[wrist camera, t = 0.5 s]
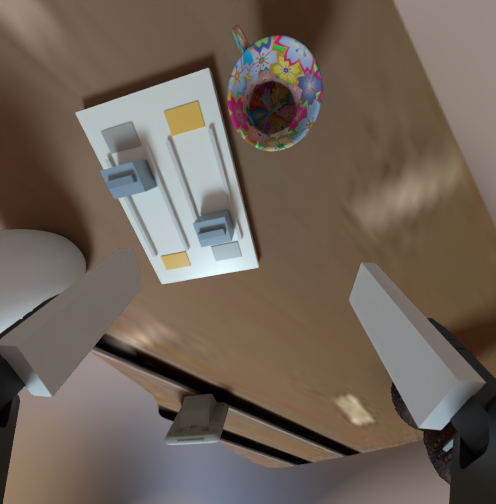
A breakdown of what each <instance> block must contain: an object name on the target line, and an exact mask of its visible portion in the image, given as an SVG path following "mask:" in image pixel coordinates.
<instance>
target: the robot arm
mask: <svg viewBox="0 0 496 504" xmlns="http://www.w3.org/2000/svg"><path fill="white" fill-rule="evenodd" d="M142 287H143V286H142V282H141V278H140V274H139V270H138V266H137V262H136V258H135V254H134V250H133V249H129V248H120V249H118V250H117V251H116V252H114V253H113V254H112V255H111V256H109V257H108V258H107V259H105V260H104V261H103V262H101V263H100V264H99V265H97V266H96V267H95V268H93V269H92V270H91V271H89V272H88V273H87V274H85V275H84V276H83V277H82V278H80V279H79V280H78V281H76V282H75V283H74V284H72V285H71V286H70V287H68V288H67V289H66V290H64V291H63V292H62V293H60V294H57V295H55V296H53V297H51V298H49V299H47V300H45V301H44V302H42V303H41V304H40V305H38V306H37V307H35V308H34V309H33V311H32V312H31V311H30V312H29V313H27V314H26V315H25V316H23V318H22V319H19V320H18V321H16V322H15V323H14V324H12V325H11V326H10V327H8V328H7V329H6V330H4V331H3V332H2V333H0V504H3V498H4V493H5V487H6V481H7V475H8V469H9V463H10V457H11V451H12V445H13V439H14V434H15V428H16V422H17V416H18V410H19V404H20V399H19V396H18V395H17V394H18V392H19V391H20V390H21V389H22V388H23V387H24V386H26V388H27V389H28V390H29V391H30V393H31V394H32V395H35V396H47V397H53V396H54V395H55V393H56V392H57V391H58V390H59V389H60V387H61V386H62V385H63V384H64V382H65V381H66V380H67V379H68V377H69V376H70V375H71V373H72V372H73V371H74V370H75V369H76V368H77V366H78V365H79V364H80V363H81V362H82V360H83V359H84V358H85V357H86V355H87V354H88V353H89V352H90V351H91V349H92V348H93V347H94V346H95V344H96V343H97V342H98V341H99V340H100V338H101V337H102V336H103V335H104V333H105V332H106V331H107V330H108V329H109V327H110V326H111V325H112V324H113V322H114V321H115V320H116V319H117V317H118V316H119V315H120V314H121V313H122V311H123V310H124V309H125V308H126V306H127V305H128V304H129V303H130V302H131V300H132V299H133V298H134V297H135V295H136V294H137V293H138V292H139V291H140V289H141V288H142ZM349 302H350V304H351V305H352V307H353V309H354V311H355V313H356V315H357V316H358V318H359V320H360V322H361V324H362V326H363V327H364V329H365V331H366V333H367V335H368V337H369V338H370V340H371V342H372V344H373V346H374V348H375V349H376V351H377V353H378V355H379V357H380V359H381V360H382V362H383V364H384V366H385V368H386V370H387V371H388V373H389V375H390V377H391V379H392V380H393V382H394V384H395V386H396V388H397V390H398V391H399V393H400V395H401V397H402V399H403V401H404V402H405V404H406V406H407V408H408V410H409V412H410V413H411V415H412V417H413V419H414V421H415V423H416V424H417V426H418V428H423V429H434V430H442V429H443V428H444V427H445V426H446V425H447V423H448V422H449V421H451V423H452V424H453V426H454V427H455V429H456V430H457V433H456V434H455V435H454V436H453V437H452V438H451V439H449V440H448V441H447V442H446V443H445V445H444V447H443V450H444V451H446V452H447V451H448V450H449V449H450V448H452V447H453V451H452V468H451V484H450V501H449V504H496V379H495V378H494V377H493V376H492V375H491V374H490V373H489V372H488V371H487V369H486V368H485V367H484V366H483V365H482V364H481V363H480V362H479V361H478V360H477V359H476V358H475V357H474V356H473V355H472V354H471V353H470V352H469V351H466V348H465V347H464V346H463V345H462V344H461V343H460V342H459V341H457V340H456V338H455V337H454V336H453V335H452V334H451V333H450V332H449V331H448V330H447V329H446V328H445V327H444V326H442V325H441V324H439V323H438V322H436V321H435V320H433V319H432V318H426V317H425V316H424V315H423V314H422V313H421V312H420V311H419V310H418V309H417V308H416V306H415V305H414V304H413V303H412V302H411V301H410V300H409V299H408V298H407V297H406V296H405V295H404V294H403V292H402V291H401V290H400V289H399V288H398V287H397V286H396V285H395V284H394V283H393V282H392V281H391V280H390V278H389V277H388V276H387V275H386V274H385V273H384V272H383V271H382V270H381V269H380V268H379V267H378V266H377V264H376V263H363V262H361V265H360V268H359V271H358V274H357V277H356V280H355V283H354V286H353V289H352V292H351V295H350V298H349Z"/></svg>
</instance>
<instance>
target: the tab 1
mask: <svg viewBox="0 0 496 504" xmlns="http://www.w3.org/2000/svg"><path fill="white" fill-rule="evenodd" d="M100 172H101V174H102V176H103V178H104V180H105V183H106V185H107V187H108V189H109V190H110V191H111V193H112V195H113V197H114V199H118V198H122V197H126V196H130V195H134V194H138V193H142V192H146V191H148V190H150V189H153V188H155V187H158V186H157V184H156V181H155V179H154V176H153V174H152V172H151V169H150V167H149V164H148V162H147V160H142V161H134V162H130V163H126V164H122V165H119V166H115V167H112V168H108V169H105V170H101V171H100Z"/></svg>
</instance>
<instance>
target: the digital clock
mask: <svg viewBox="0 0 496 504" xmlns="http://www.w3.org/2000/svg"><path fill="white" fill-rule="evenodd" d="M228 408H229V406H228V404H227V403H224V402H222V403H217V401H216V400H215V398H214V396H213V395H212V394H203V395H193V396H185V397H184V401H183V404H182V407H181V409H180V411H179V413H178V414H177V416H176V418H175V420H174V422H173V424H172V426H171V428H170V430H169V431H168V433H167V435H166V438H165V443H166V444H169V445H182V444H199V443H214V442H218V440H219V439H220V437H221V433H222V430H223V426H224V423H225V419H226V416H227V412H228Z"/></svg>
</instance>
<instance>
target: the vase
mask: <svg viewBox="0 0 496 504" xmlns="http://www.w3.org/2000/svg"><path fill="white" fill-rule="evenodd" d="M391 394H392V401H393V403H394V406H395V407H396V408H395V409H396V411H397V412H398V414H399V415H400V417H401V418H402V419H403V420H404V421H405V422H406V423H408V425H410V426H412V427H413V428H415V429H416V428H417V429H419V430H422V431H424V438H423V440H424V444H425V445H426V448H427V452H428V454H429V458H430V460H431V462H432V464H433V466H434V468H435V469H436V471H437V473H439V476H440V477H441V478H442V479H444V480H445V481H446V482H447V483H449V484H451V468H452V451H453V447H452V448H450V449H449V450H448V451H447V452H446V451H444V450H443V447H444V445H445V443H446V442H447V441H448V440H449V439H451V438H452V437H453V436H454V435H455V434H456V433H457V430H456V429H455V427H454V426H453V424H452V423H451V421H449V422H448V423H447V425H446V426H445V427H444V428H443V429H442V430H434V429H423V428H418V426H417V424H416V423H415V421H414V419H413V417H412V415H411V413H410V412H409V410H408V408H407V406H406V404H405V402H404V401H403V399H402V397H401V395H400V393H399V391H398V390H397V388H396V386H395V384H394V382H393V383H392V387H391ZM440 471H441V472H440Z"/></svg>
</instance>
